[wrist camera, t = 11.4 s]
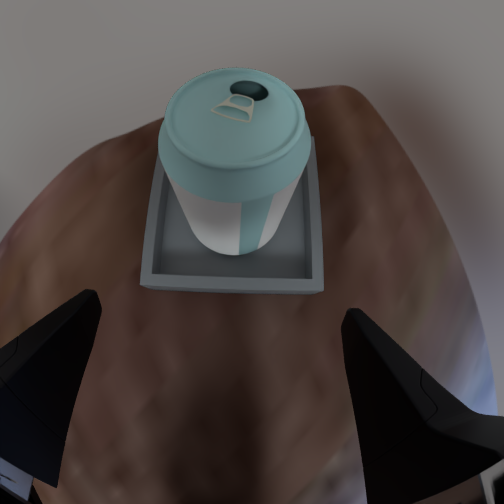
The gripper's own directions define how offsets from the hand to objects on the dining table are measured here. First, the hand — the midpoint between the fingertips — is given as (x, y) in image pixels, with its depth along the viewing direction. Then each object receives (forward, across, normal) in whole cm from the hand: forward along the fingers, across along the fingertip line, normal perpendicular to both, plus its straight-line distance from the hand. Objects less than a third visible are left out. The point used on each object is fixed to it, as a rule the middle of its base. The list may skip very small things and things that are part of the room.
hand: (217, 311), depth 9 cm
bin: (+14, 0, +3) cm, 15 cm away
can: (+14, 0, +3) cm, 14 cm away
